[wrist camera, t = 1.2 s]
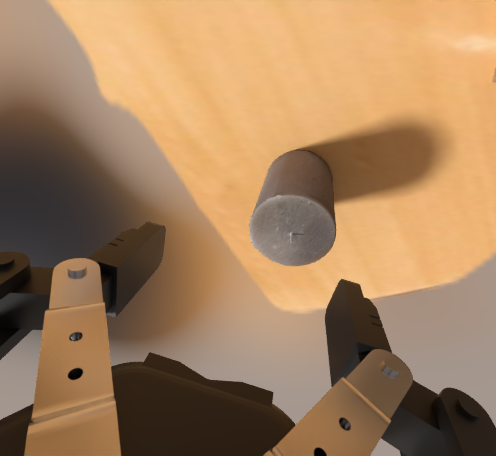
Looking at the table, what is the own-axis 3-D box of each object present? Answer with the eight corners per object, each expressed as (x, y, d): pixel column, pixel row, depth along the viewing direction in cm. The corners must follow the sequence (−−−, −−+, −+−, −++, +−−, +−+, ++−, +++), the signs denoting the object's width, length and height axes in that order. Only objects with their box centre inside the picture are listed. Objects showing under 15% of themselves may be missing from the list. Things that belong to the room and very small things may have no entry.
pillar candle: (343, 191, 42) (355, 255, 30) (287, 219, 47) (277, 284, 34) (310, 135, 39) (307, 183, 26) (252, 171, 43) (227, 225, 31)
